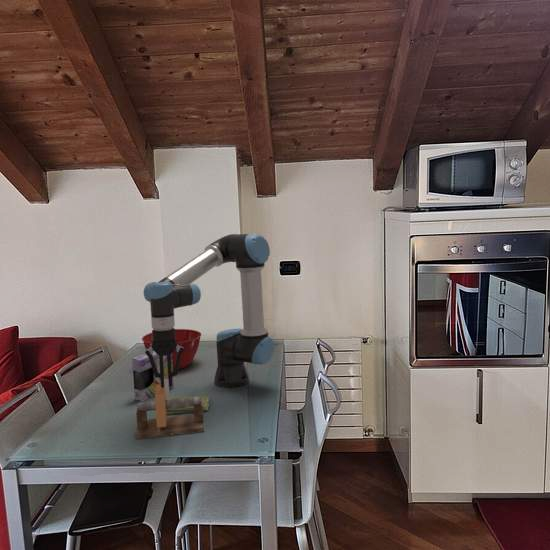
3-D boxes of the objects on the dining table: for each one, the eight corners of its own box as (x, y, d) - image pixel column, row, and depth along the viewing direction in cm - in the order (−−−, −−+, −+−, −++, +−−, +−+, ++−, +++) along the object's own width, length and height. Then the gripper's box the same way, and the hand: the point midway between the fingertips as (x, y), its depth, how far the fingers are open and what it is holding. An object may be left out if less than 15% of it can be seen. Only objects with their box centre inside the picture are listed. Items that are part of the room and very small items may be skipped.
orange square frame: (166, 413, 172) (164, 383, 171) (166, 426, 161) (164, 394, 160) (157, 414, 171) (156, 384, 170) (156, 427, 161) (155, 395, 159)
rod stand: (202, 417, 175) (200, 390, 174) (204, 431, 164) (202, 402, 162) (139, 424, 171) (137, 396, 170) (136, 439, 159) (134, 409, 158)
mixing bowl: (208, 369, 232) (207, 338, 230) (147, 378, 221) (145, 345, 220) (195, 355, 258) (194, 326, 256) (140, 362, 247) (138, 332, 246)
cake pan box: (140, 403, 192) (137, 359, 190) (131, 400, 194) (128, 357, 192) (175, 388, 208) (172, 347, 206) (166, 386, 210) (164, 346, 208)
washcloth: (209, 413, 180) (209, 404, 180) (161, 417, 178) (160, 408, 178) (209, 400, 193) (209, 392, 193) (164, 403, 191) (164, 396, 191)
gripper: (142, 332, 158) (147, 402, 161) (183, 329, 161) (186, 397, 163) (144, 327, 165) (148, 394, 168) (182, 324, 168) (186, 390, 171)
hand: (167, 396), depth 166 cm, fingers closed
